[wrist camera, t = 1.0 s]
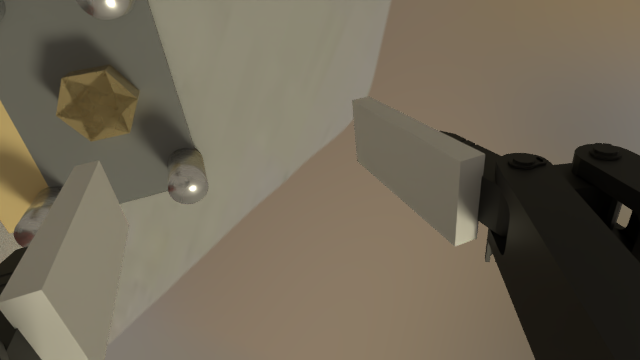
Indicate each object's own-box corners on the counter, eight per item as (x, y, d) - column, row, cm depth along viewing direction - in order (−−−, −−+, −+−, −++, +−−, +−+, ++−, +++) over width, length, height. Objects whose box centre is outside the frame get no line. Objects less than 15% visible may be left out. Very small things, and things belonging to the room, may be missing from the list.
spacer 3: (174, 180, 32) (174, 208, 27) (163, 151, 30) (162, 175, 26) (207, 171, 32) (212, 197, 28) (198, 142, 31) (202, 165, 27)
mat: (11, 230, 29) (9, 233, 28) (-150, -13, 21) (-155, -13, 20) (204, 179, 32) (204, 181, 32) (133, -45, 24) (132, -46, 24)
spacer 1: (47, 219, 29) (26, 256, 25) (29, 189, 28) (4, 223, 24) (85, 209, 30) (71, 244, 26) (70, 179, 29) (52, 211, 24)
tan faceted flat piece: (78, 134, 27) (70, 146, 25) (50, 75, 25) (39, 82, 23) (150, 119, 28) (148, 128, 26) (129, 60, 26) (125, 66, 24)
